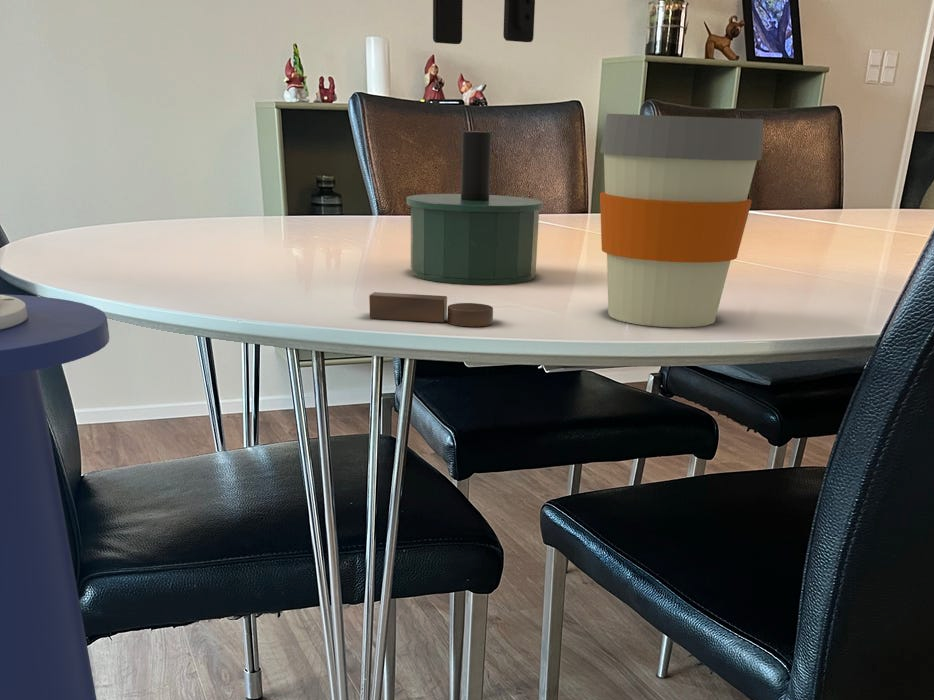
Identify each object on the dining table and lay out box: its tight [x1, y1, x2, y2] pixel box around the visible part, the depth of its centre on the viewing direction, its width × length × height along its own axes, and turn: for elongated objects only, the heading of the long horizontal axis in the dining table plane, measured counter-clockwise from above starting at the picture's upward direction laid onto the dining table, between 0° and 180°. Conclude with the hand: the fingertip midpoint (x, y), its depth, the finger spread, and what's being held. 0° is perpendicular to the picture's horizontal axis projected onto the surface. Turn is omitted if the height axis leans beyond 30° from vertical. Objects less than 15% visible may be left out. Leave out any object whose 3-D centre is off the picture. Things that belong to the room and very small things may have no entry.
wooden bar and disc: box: [368, 291, 494, 328], centre depth 79 cm, size 10×4×2 cm, turn 82°
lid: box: [405, 130, 544, 213], centre depth 97 cm, size 14×14×7 cm
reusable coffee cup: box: [599, 113, 764, 328], centre depth 80 cm, size 13×13×15 cm
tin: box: [410, 206, 540, 286], centre depth 100 cm, size 13×13×6 cm
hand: (481, 42), depth 92 cm, fingers open, 9 cm apart
